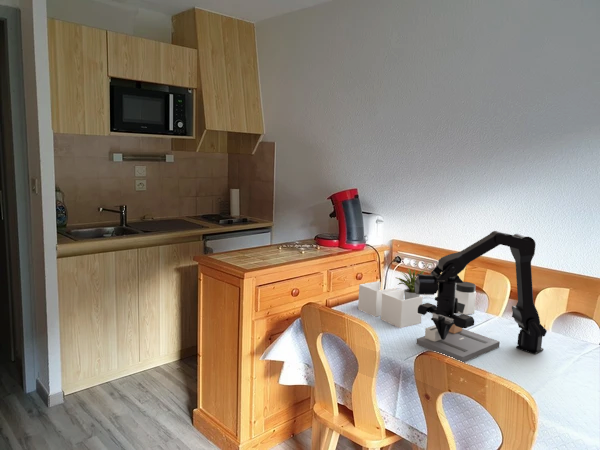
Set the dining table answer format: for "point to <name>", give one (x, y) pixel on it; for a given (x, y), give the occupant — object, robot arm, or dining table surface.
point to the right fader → (455, 329)
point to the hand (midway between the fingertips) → (443, 339)
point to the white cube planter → (389, 304)
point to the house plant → (410, 285)
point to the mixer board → (461, 345)
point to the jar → (466, 296)
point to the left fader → (432, 333)
